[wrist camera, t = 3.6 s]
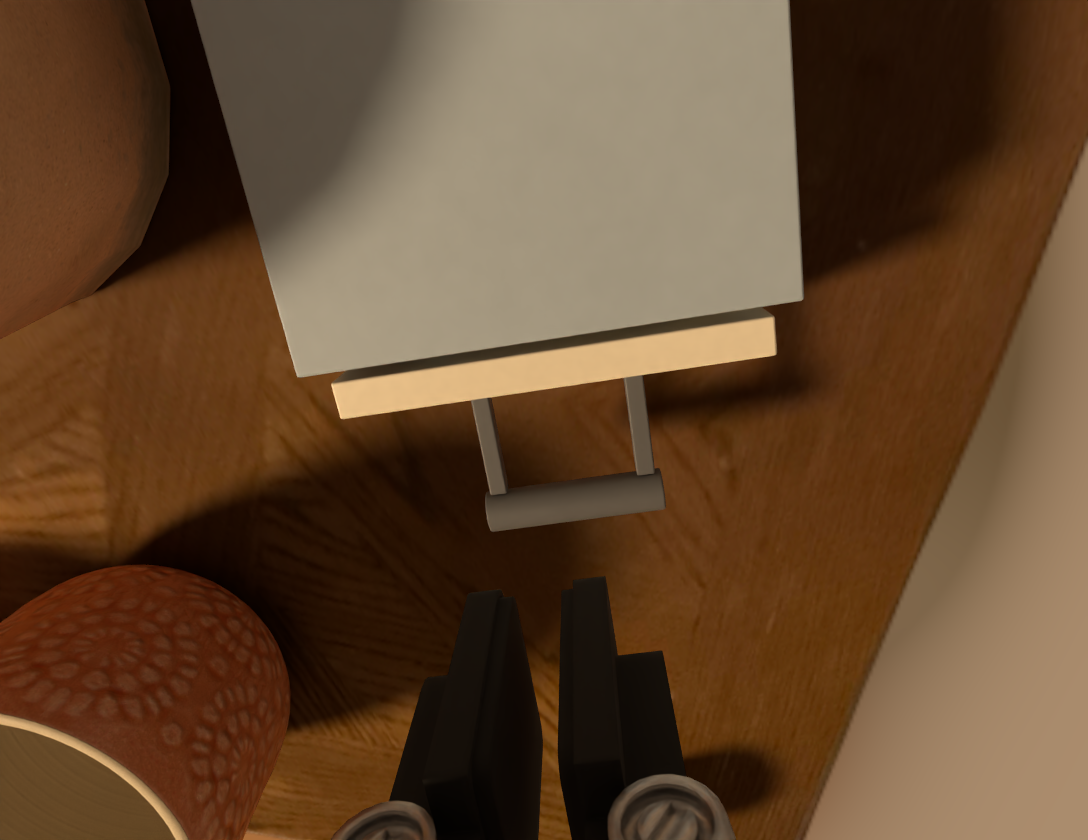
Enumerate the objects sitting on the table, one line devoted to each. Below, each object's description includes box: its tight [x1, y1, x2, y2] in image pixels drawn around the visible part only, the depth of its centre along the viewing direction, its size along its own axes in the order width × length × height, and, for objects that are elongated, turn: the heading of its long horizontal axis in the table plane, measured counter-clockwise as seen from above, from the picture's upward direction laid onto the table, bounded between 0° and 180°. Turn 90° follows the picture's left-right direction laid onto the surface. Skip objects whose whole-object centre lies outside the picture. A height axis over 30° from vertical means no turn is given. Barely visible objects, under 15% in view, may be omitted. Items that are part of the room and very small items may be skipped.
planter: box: [0, 565, 290, 840], centre depth 28 cm, size 12×12×11 cm
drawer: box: [332, 307, 777, 532], centre depth 23 cm, size 19×13×5 cm
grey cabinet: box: [191, 0, 804, 377], centre depth 22 cm, size 15×15×7 cm
